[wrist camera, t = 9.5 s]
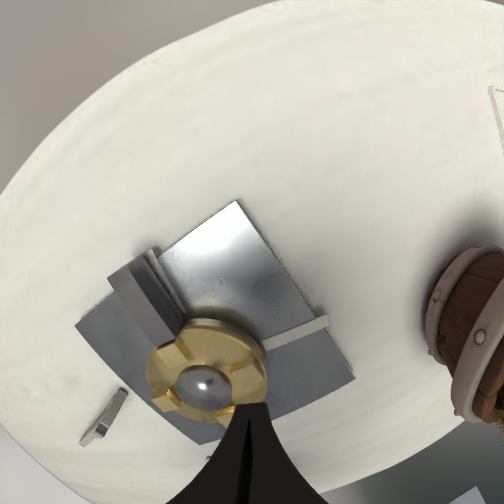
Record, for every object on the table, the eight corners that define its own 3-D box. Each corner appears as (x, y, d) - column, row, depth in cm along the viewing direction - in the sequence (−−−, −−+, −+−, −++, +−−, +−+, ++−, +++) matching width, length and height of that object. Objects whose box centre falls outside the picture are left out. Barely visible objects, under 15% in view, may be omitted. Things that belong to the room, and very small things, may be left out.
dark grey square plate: (359, 366, 22) (364, 374, 20) (200, 437, 25) (199, 445, 23) (238, 180, 18) (237, 180, 17) (74, 311, 21) (67, 317, 19)
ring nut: (285, 383, 20) (289, 409, 17) (196, 414, 21) (190, 438, 18) (184, 227, 17) (170, 237, 14) (93, 286, 18) (72, 302, 15)
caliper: (121, 384, 23) (97, 426, 17) (129, 390, 23) (107, 433, 17) (80, 439, 27) (65, 466, 21) (86, 443, 27) (71, 471, 21)
